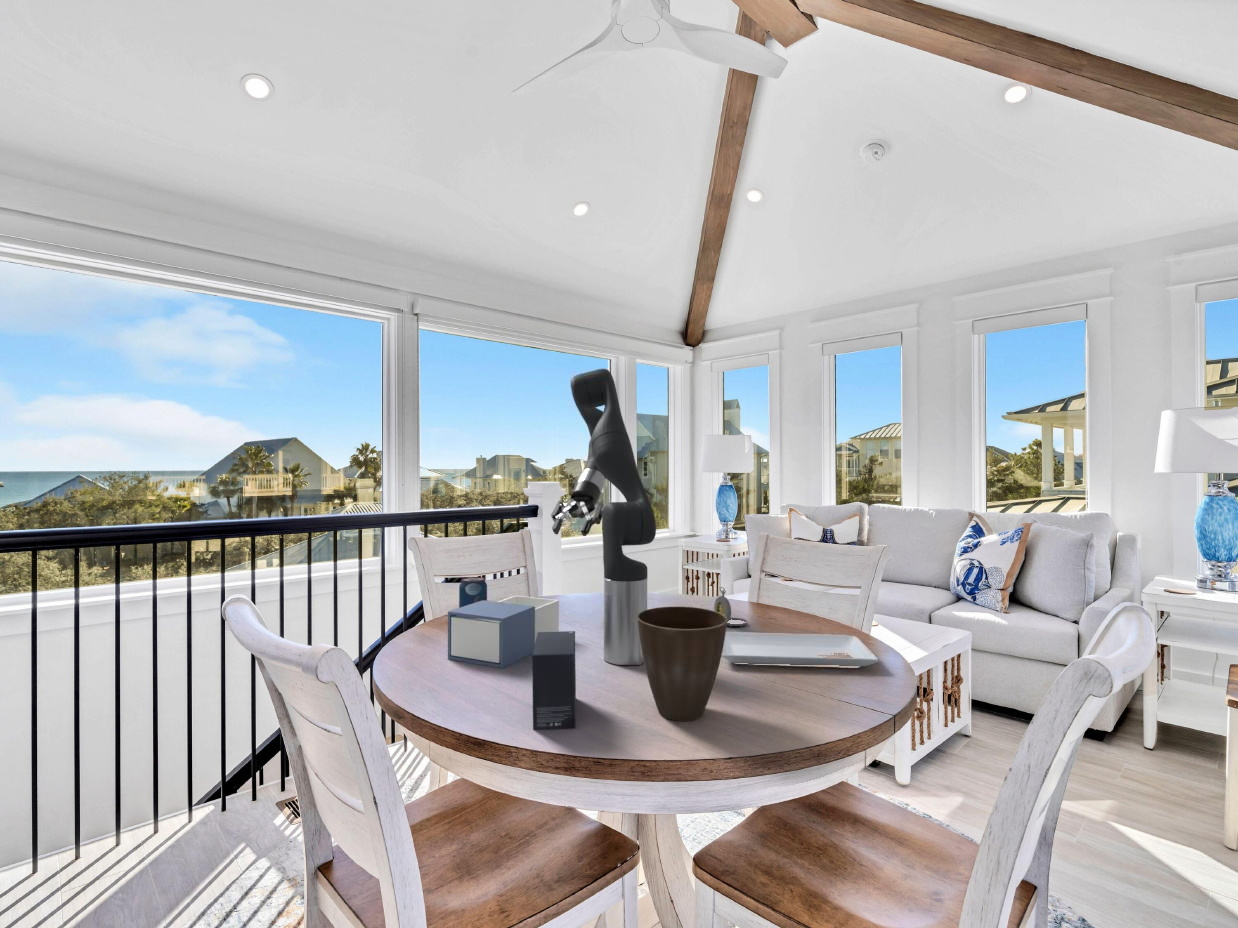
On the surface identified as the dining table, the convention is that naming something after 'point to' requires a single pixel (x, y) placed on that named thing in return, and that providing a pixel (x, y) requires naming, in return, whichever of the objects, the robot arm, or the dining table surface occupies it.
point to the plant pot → (681, 657)
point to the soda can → (472, 591)
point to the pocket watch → (726, 609)
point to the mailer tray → (498, 629)
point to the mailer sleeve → (501, 629)
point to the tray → (795, 649)
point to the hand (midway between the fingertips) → (569, 533)
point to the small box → (554, 681)
